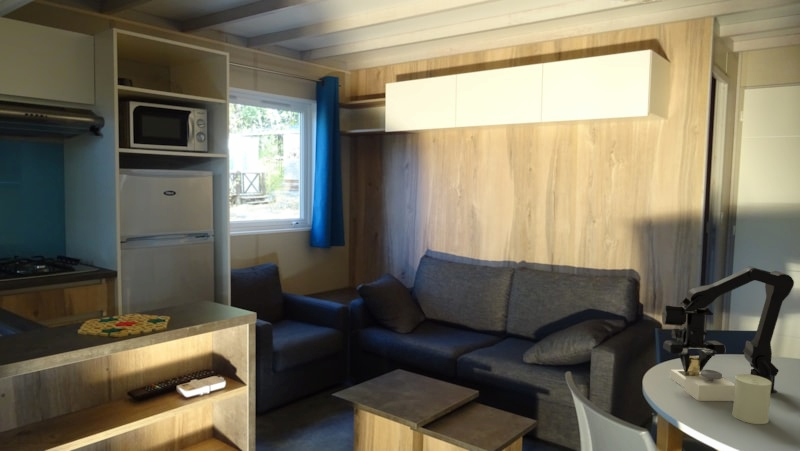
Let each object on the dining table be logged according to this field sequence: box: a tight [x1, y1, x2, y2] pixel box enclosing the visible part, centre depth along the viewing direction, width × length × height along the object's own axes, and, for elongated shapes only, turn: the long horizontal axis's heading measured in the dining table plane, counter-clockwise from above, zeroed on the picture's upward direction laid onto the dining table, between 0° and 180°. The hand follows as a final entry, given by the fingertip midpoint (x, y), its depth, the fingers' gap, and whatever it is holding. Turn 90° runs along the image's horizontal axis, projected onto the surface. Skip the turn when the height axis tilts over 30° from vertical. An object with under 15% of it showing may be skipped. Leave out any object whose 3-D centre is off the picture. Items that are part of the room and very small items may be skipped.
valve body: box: [669, 369, 735, 402], centre depth 193 cm, size 12×20×8 cm, turn 2°
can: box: [731, 373, 772, 425], centre depth 171 cm, size 9×9×12 cm
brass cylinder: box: [685, 355, 701, 376], centre depth 198 cm, size 4×4×6 cm
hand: (692, 371), depth 198 cm, fingers closed on brass cylinder, 4 cm apart
